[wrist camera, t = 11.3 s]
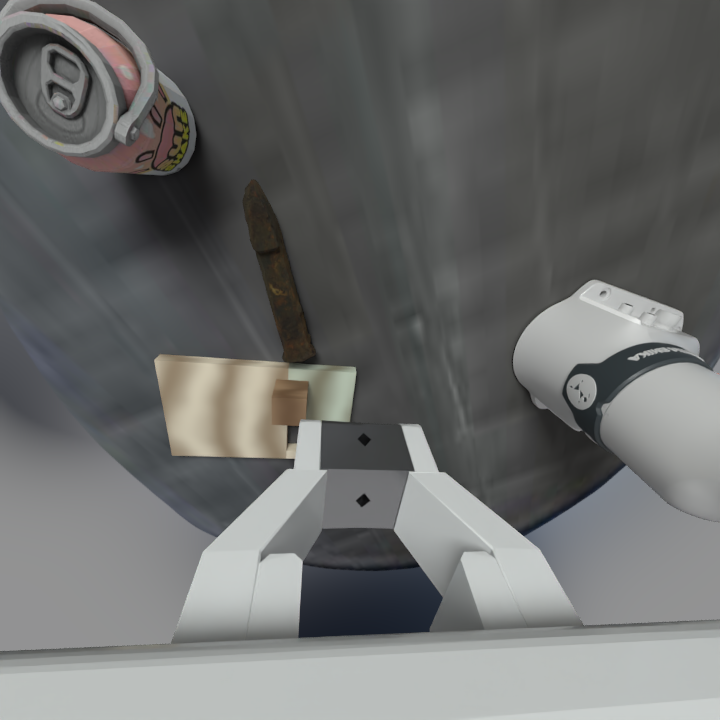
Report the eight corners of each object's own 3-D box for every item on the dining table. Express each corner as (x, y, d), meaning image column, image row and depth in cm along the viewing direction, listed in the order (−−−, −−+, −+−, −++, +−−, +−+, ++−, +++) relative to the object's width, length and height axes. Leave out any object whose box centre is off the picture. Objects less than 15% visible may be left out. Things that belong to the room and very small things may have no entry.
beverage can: (113, 23, 26) (-32, -88, 16) (218, 91, 29) (154, 36, 18) (91, 142, 30) (-40, 118, 19) (186, 194, 32) (117, 198, 22)
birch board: (355, 367, 43) (356, 372, 42) (344, 452, 50) (344, 460, 48) (160, 354, 40) (154, 360, 38) (176, 447, 47) (172, 455, 45)
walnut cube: (308, 381, 42) (306, 399, 38) (307, 406, 43) (305, 426, 40) (276, 379, 41) (271, 397, 37) (276, 405, 43) (271, 424, 39)
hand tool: (316, 347, 41) (315, 364, 37) (285, 351, 41) (281, 369, 37) (284, 177, 32) (278, 175, 28) (243, 182, 32) (232, 181, 28)
